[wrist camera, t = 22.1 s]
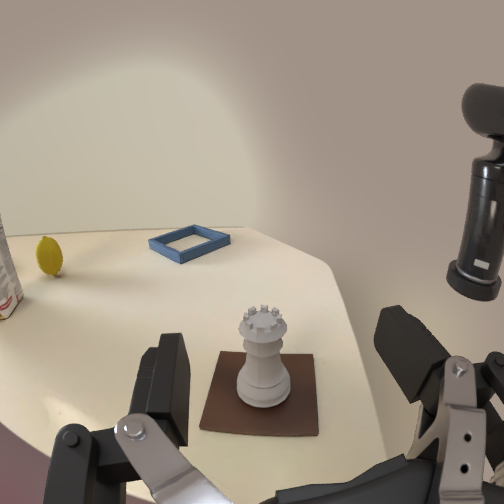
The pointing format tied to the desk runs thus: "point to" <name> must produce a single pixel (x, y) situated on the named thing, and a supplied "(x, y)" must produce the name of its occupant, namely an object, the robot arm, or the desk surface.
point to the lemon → (49, 255)
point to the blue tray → (191, 253)
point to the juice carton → (7, 279)
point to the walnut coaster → (260, 418)
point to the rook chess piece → (263, 359)
